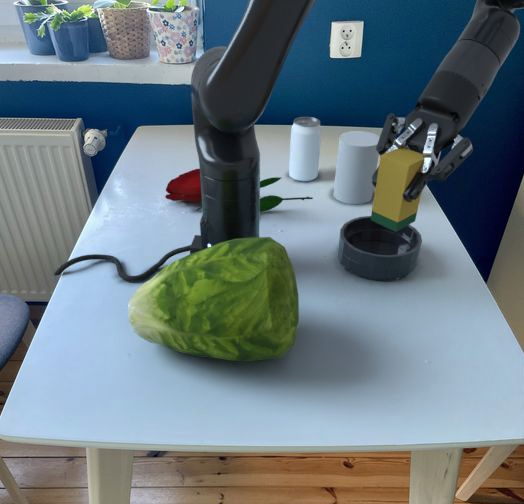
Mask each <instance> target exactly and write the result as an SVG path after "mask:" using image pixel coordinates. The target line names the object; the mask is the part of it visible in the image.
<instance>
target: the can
mask: <svg viewBox="0 0 524 504" xmlns="http://www.w3.org/2000/svg"><path fill="white" fill-rule="evenodd" d="M321 143H322V125H321V120H320V119H318V118H316V117H312V116H300V117H296V118H294V120H293V124H292V126H291V128H290V144H289V163H288V164H289V165H288V176H289V177H290V178H291V179H292V180H294V181H297V182H302V183H308V182H312V181H314V180H316V178H318V175H319V164H320V154H321Z"/></svg>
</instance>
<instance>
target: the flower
mask: <svg viewBox="0 0 524 504" xmlns="http://www.w3.org/2000/svg"><path fill="white" fill-rule="evenodd" d="M282 178H283V177H281V176H280V177H279V176H278V177H276V176H275V177H268V178H265V179H262V180H260V189H261V188H265V187H268V186H270V185H272V184H275V183H276V182H278V181H280V180H281V179H282ZM165 192H166V193H168V194H165V195H164V198H165V199H167V200H168V201H169V200H170V201H172V202H178V201H181V202H188V203H190V202H191V203H199V205H200V207H199V208H197V209H195V212H197V211H200V210H201V209H202V195H201V180H200V168H195V169H192V170H189V171H187V172H184V173H181V174H179V175H178V176H177V177H175V178H172V179H171V180H170V181H169V182H167V185H166V188H165ZM313 199H314V197H311V196H310V197H309V196H305V197H284V198H283V197H281V196H278V195H264V196H262V197H261V196H260V213H263V212H267V211H270V210H272V209H275V208H276V207H278V206H279V205H280V204H281V203H282V202H283V201H295V200H301V201H305V200H313Z"/></svg>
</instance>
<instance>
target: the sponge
mask: <svg viewBox="0 0 524 504" xmlns="http://www.w3.org/2000/svg"><path fill="white" fill-rule="evenodd" d="M424 159H425V158H423V154H422V153H419V152H415V151H412V150H409V149H407V148H402V149H395V150H392V151H390V152H388V153H385V154H383V155H381V156H380V158H379V163H378V166H379V170H378V176H377V183H376V188H375V189H374V195H373V200H372V201H373V202H372V207H371V208H372V209H371V215H370V216H371V221H374V222H376V223H378V224H380V225H382V226H384V227H387V228H389V229H391V230H393V231H395V232H397V231H398V230H400V229H402V228H404V227H406V226H407V225H412V224H413V223H415V222H416V219H417V215H418V209H419V205H420V201H421V195H422V192H421V193H420V195H419V197H418V198H417V199H415V200H412V202H410V203H409V202H407V201H405V199H404V198H403V193H404V192H405V190H406V188H407V187H408V185H409V184H410V182H411V180H412V179H413V177H414V176H415V174H416V173H417V172H418V173H419V172H420V167H421V164H422V162H423V161H424Z"/></svg>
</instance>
